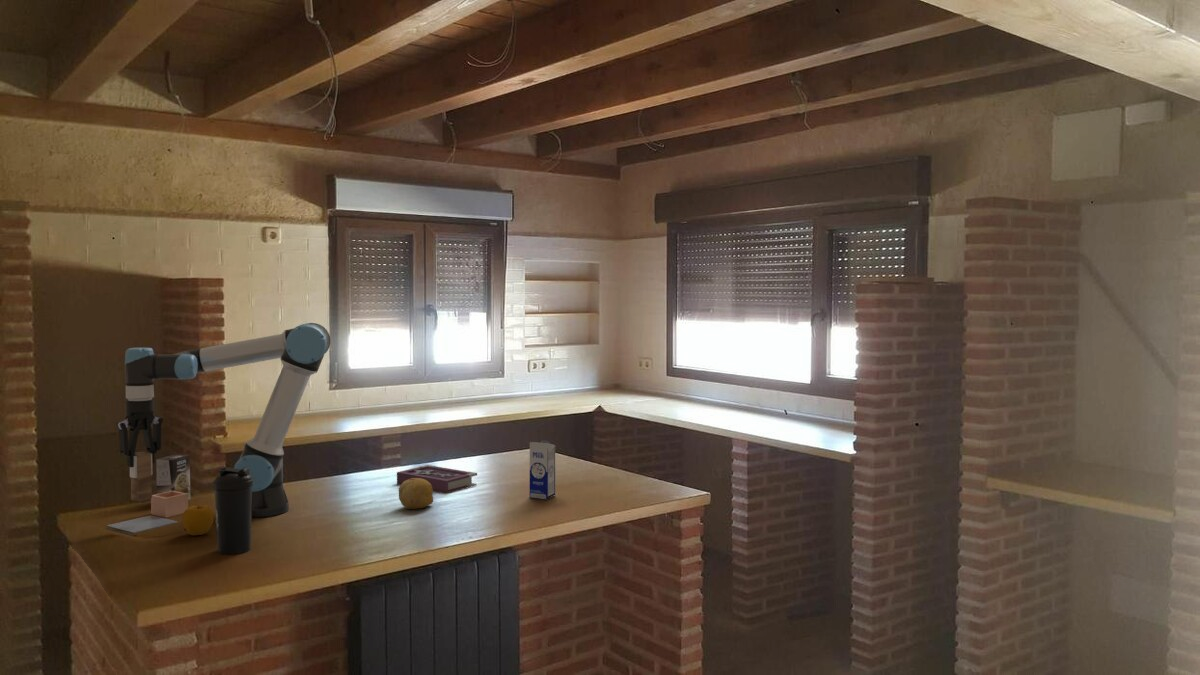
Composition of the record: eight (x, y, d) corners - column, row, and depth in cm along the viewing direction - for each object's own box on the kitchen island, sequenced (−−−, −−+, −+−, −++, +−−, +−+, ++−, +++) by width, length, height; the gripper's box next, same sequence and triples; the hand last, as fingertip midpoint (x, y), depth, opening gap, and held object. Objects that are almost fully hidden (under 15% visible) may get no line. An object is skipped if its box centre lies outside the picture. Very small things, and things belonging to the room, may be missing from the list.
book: (477, 486, 326) (477, 472, 326) (446, 494, 313) (446, 480, 312) (427, 477, 340) (427, 464, 340) (396, 485, 327) (396, 471, 326)
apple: (193, 540, 253) (192, 510, 252) (176, 535, 257) (175, 506, 257) (220, 533, 260) (219, 504, 259) (202, 529, 264) (202, 500, 264)
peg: (151, 498, 266) (150, 452, 265) (139, 501, 263) (138, 455, 262) (143, 496, 268) (143, 451, 267) (131, 499, 265) (130, 453, 264)
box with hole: (188, 515, 280) (187, 493, 280) (165, 520, 273) (165, 498, 273) (173, 512, 284) (173, 490, 283) (151, 517, 277) (150, 495, 277)
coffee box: (173, 508, 289) (172, 459, 288) (156, 507, 290) (155, 458, 289) (191, 501, 298) (190, 454, 297) (174, 500, 299) (173, 453, 298)
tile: (178, 525, 268) (178, 521, 268) (134, 536, 256) (134, 532, 256) (151, 518, 275) (151, 515, 275) (106, 529, 263) (106, 525, 263)
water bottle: (221, 545, 248) (220, 464, 247) (258, 544, 249) (257, 464, 248) (208, 556, 238) (207, 472, 237) (247, 555, 239) (246, 472, 238)
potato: (440, 506, 294) (440, 477, 293) (410, 514, 284) (410, 483, 283) (420, 501, 300) (420, 472, 299) (390, 508, 290) (390, 479, 290)
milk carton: (529, 498, 306) (529, 441, 305) (537, 493, 313) (537, 438, 311) (547, 500, 304) (547, 442, 303) (555, 495, 310) (555, 439, 309)
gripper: (159, 395, 273) (160, 469, 274) (104, 401, 258) (105, 479, 259) (173, 397, 269) (175, 472, 270) (119, 403, 254) (120, 482, 256)
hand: (141, 475), depth 265 cm, fingers closed on peg, 4 cm apart
